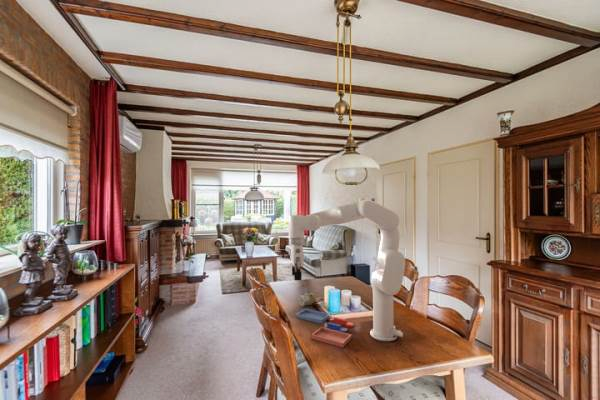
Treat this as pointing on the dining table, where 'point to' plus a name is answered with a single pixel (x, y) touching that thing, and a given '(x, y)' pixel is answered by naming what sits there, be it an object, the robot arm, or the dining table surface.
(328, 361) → the dining table surface
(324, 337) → the rose tray
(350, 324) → the red spoon
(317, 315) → the blue tray
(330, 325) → the blue spoon
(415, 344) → the dining table surface
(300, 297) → the ceramic sculpture
